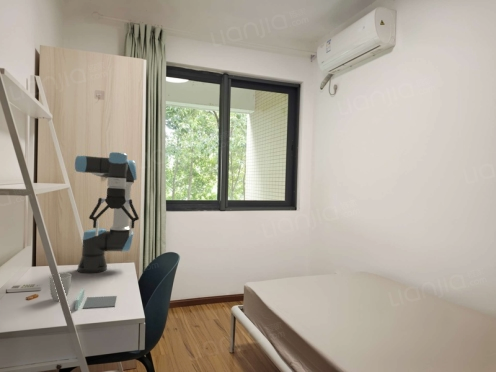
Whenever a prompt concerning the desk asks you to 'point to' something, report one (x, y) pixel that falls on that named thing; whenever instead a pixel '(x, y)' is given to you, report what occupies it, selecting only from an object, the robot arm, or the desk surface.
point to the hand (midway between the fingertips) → (113, 235)
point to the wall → (79, 299)
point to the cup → (65, 281)
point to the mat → (100, 302)
